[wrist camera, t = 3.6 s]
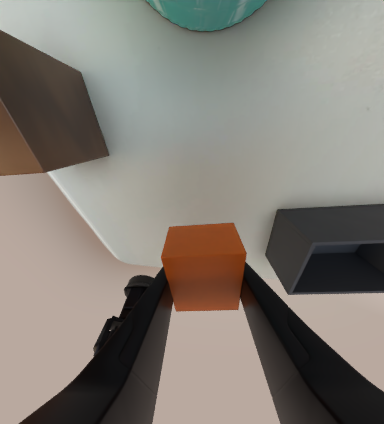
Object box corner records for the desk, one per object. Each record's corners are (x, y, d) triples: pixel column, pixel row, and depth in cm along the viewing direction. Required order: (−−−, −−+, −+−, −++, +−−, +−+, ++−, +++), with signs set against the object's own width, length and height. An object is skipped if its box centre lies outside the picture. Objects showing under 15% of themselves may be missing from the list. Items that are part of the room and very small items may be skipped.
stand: (109, 155, 18) (44, 172, 10) (65, 158, 18) (-29, 178, 11) (80, 71, 14) (-60, -3, 6) (26, 77, 14) (-172, 14, 7)
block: (229, 275, 11) (238, 310, 9) (179, 276, 11) (175, 311, 9) (233, 222, 8) (246, 253, 6) (169, 226, 9) (160, 257, 7)
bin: (353, 252, 26) (407, 292, 19) (265, 255, 27) (287, 294, 20) (387, 203, 21) (475, 236, 14) (277, 209, 22) (312, 242, 15)
